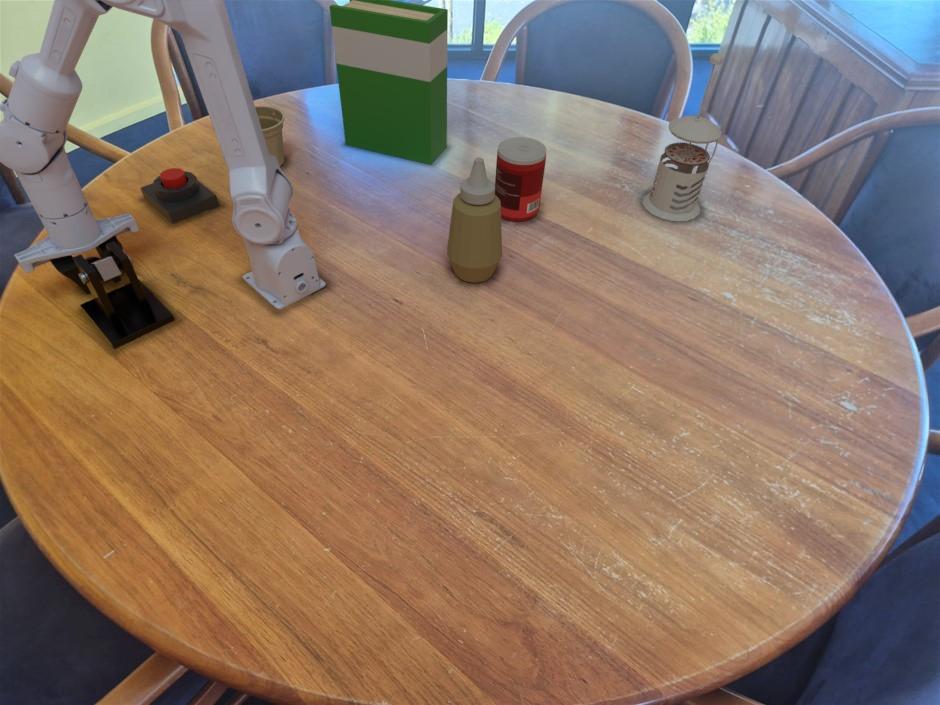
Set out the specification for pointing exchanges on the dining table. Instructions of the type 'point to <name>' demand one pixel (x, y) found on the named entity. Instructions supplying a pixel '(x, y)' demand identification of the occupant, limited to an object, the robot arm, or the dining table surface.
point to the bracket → (121, 302)
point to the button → (173, 178)
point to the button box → (180, 198)
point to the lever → (104, 267)
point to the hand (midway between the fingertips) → (103, 290)
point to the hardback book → (392, 76)
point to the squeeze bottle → (475, 227)
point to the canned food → (519, 177)
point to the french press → (683, 166)
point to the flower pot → (272, 130)
